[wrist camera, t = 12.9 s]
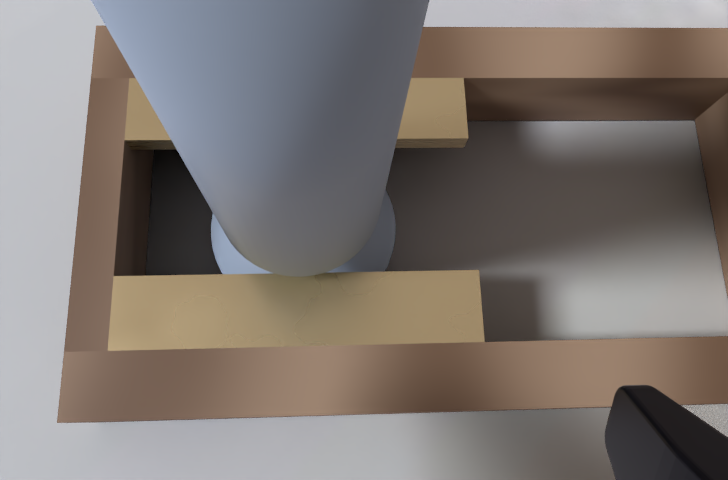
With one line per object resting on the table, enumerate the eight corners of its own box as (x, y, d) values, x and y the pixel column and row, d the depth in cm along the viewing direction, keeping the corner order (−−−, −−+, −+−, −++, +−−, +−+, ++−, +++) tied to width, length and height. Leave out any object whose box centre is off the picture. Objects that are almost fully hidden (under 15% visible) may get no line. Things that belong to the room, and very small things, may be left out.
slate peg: (367, 344, 18) (583, -118, 3) (190, 294, 18) (-624, -428, 3) (411, 178, 19) (722, -759, 4) (248, 134, 19) (-65, -940, 4)
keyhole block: (716, 75, 21) (767, 28, 18) (781, 401, 18) (853, 399, 16) (126, 75, 20) (96, 25, 17) (97, 422, 17) (57, 422, 14)
